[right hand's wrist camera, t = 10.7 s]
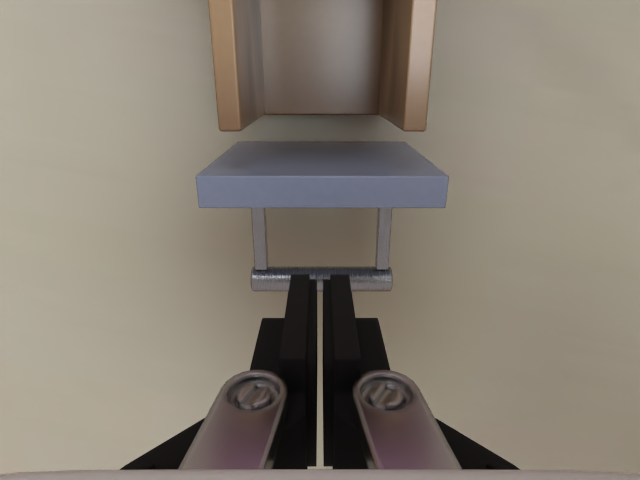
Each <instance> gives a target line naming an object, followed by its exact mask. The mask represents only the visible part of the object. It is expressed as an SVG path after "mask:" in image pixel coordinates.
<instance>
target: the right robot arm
mask: <svg viewBox="0 0 640 480" xmlns="http://www.w3.org/2000/svg"><path fill="white" fill-rule="evenodd" d="M316 445H317V279H310V274H291V278H290V285H289V292H288V299H287V306H286V312H285V318H263V319H262V321H261V326H260V330H259V334H258V338H257V342H256V346H255V351H254V355H253V359H252V363H251V367H250V371H245V372H242V373H240V374H237V375H235V376H233V377H232V378H230V379H229V380H228V381H226V383H225V384H224V385H223V387H222V388H221V390H220V392H219V393H218V395H217V397H216V399H215V401H214V403H213V405H212V407H211V408H210V410H209V412H208V414H207V416H206V418H204V419H202V420H201V421H199V422H197V423H196V424H194V425H192V426H191V427H189V428H187V429H186V430H184V431H182V432H181V433H179V434H177V435H176V436H174V437H172V438H171V439H169V440H167V441H166V442H164V443H162V444H161V445H159V446H157V447H156V448H154V449H152V450H151V451H149V452H147V453H146V454H144V455H142V456H140V457H139V458H137V459H135V460H134V461H132V462H130V463H129V464H127V465H125V466H124V467H123V468H121V469H120V470H69V471H42V472H17V473H8V474H0V480H640V474H632V473H623V472H598V471H571V470H520V469H519V468H517V467H516V466H515V465H513V464H511V463H510V462H508V461H506V460H505V459H503V458H501V457H500V456H498V455H496V454H494V453H493V452H491V451H489V450H488V449H486V448H484V447H483V446H481V445H479V444H478V443H476V442H474V441H473V440H471V439H469V438H468V437H466V436H464V435H463V434H461V433H459V432H458V431H456V430H454V429H453V428H451V427H449V426H448V425H446V424H444V423H443V422H441V421H439V420H438V419H436V418H434V416H433V414H432V412H431V410H430V408H429V407H428V405H427V403H426V401H425V399H424V397H423V395H422V393H421V392H420V390H419V388H418V387H417V385H416V384H415V383H414V381H412V380H411V379H410V378H408V377H407V376H405V375H403V374H400V373H398V372H395V371H390V367H389V363H388V359H387V355H386V351H385V346H384V342H383V338H382V334H381V330H380V326H379V321H378V319H377V318H355V312H354V306H353V299H352V292H351V285H350V278H349V274H330V279H323V445H324V466H333V469H307V466H316Z"/></svg>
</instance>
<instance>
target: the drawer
mask: <svg viewBox="0 0 640 480" xmlns="http://www.w3.org/2000/svg"><path fill="white" fill-rule="evenodd" d="M208 3H209V15H210V27H211V39H212V51H213V63H214V75H215V87H216V99H217V111H218V123H219V130H220V131H241V130H243V129H244V128H245V127H247V126H248V125H250V124H251V123H253V122H254V121H256V120H257V119H258V118H260V117H261V116H263V115H380V116H382V117H383V118H385V119H386V120H388V121H389V122H391V123H392V124H394V125H395V126H397V127H398V128H400V129H402V130H403V131H425V130H426V121H427V110H428V99H429V87H430V76H431V64H432V53H433V41H434V30H435V18H436V7H437V0H208ZM448 180H449V176H448V175H447V174H445V173H444V172H443V171H441V170H440V169H439V168H438V167H436V166H435V165H434V164H432V163H431V162H430V161H429V160H427V159H426V158H425V157H423V156H422V155H421V154H420V153H418V152H417V151H416V150H414V149H413V148H412V147H411V146H409V145H408V144H407V143H405V142H238V143H236V144H235V145H234V146H233V147H231V148H230V149H229V150H228V151H226V152H225V153H224V154H223V155H221V156H220V157H219V158H218V159H217V160H215V161H214V162H213V163H212V164H210V165H209V166H208V167H207V168H205V169H204V170H203V171H202V172H200V173H199V174H198V175H197V176H196V184H197V193H198V203H199V208H251V212H252V228H253V245H254V261H255V267H253V268H252V271H251V288H252V291H289V285H290V278H291V274H310V279H317V291H323V279H330V274H349V278H350V285H351V291H391V289H392V270H391V268H390V267H388V264H389V249H390V233H391V217H392V208H445V206H446V198H447V189H448ZM266 208H378V216H377V236H376V256H375V266H376V267H268V250H267V229H266Z"/></svg>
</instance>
